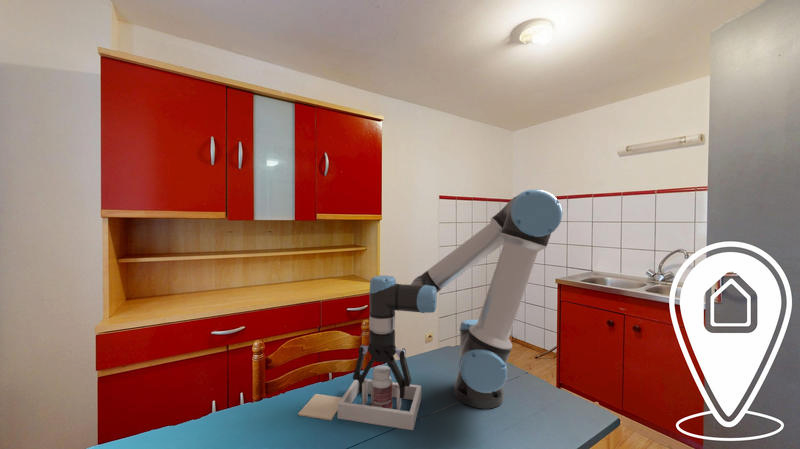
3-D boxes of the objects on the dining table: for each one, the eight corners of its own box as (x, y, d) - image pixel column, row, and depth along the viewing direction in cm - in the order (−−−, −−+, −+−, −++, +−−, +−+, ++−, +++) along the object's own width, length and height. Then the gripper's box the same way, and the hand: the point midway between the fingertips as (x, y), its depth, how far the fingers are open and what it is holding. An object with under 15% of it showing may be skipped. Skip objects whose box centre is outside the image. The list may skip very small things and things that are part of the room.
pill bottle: (396, 410, 86) (396, 371, 86) (377, 417, 82) (377, 376, 82) (385, 399, 91) (385, 362, 91) (367, 406, 87) (367, 367, 87)
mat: (345, 399, 91) (345, 398, 91) (330, 420, 81) (330, 418, 81) (315, 395, 93) (315, 393, 93) (297, 415, 83) (297, 413, 83)
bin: (421, 398, 91) (421, 385, 91) (413, 430, 77) (413, 415, 77) (356, 390, 96) (356, 377, 96) (337, 418, 82) (337, 403, 82)
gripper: (421, 328, 88) (421, 403, 88) (351, 322, 93) (350, 393, 93) (418, 337, 81) (417, 419, 81) (341, 330, 85) (340, 408, 85)
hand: (381, 405), depth 87 cm, fingers open, 10 cm apart
